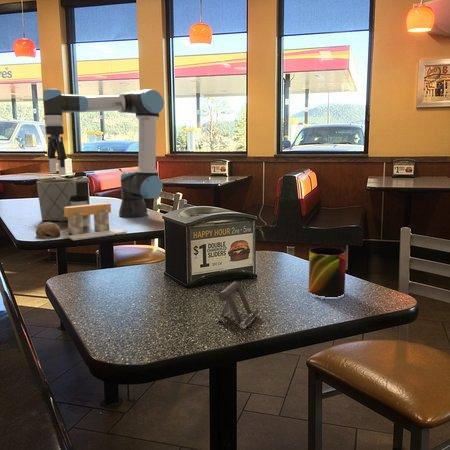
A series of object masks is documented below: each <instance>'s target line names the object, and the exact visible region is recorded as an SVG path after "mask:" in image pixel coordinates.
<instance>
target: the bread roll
mask: <svg viewBox="0 0 450 450" xmlns="http://www.w3.org/2000/svg"><path fill="white" fill-rule="evenodd" d="M35 236H36V237H38V238H40V239H48V238H49V239H50V238H56V237H57V238H59V237H60V236H61V228H60V226H59V225H57V224H56V223H55V222H52V221H45V222H43V223H41V224H39V225H38V226H37V227H36V230H35Z"/></svg>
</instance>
